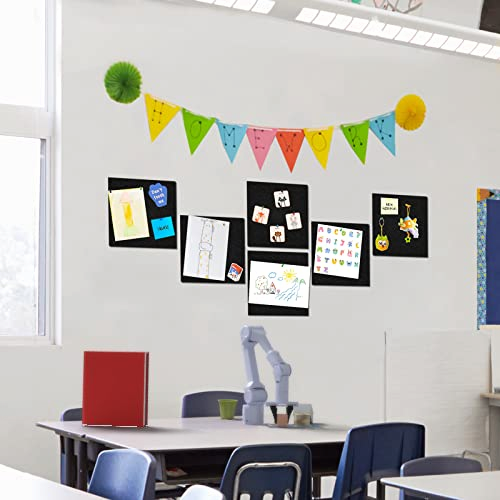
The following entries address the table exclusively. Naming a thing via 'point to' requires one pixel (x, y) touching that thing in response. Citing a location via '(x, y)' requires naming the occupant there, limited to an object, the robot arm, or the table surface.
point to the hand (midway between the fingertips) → (281, 423)
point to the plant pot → (227, 408)
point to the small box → (304, 410)
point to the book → (115, 388)
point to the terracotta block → (282, 420)
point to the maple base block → (301, 419)
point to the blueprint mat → (294, 426)
